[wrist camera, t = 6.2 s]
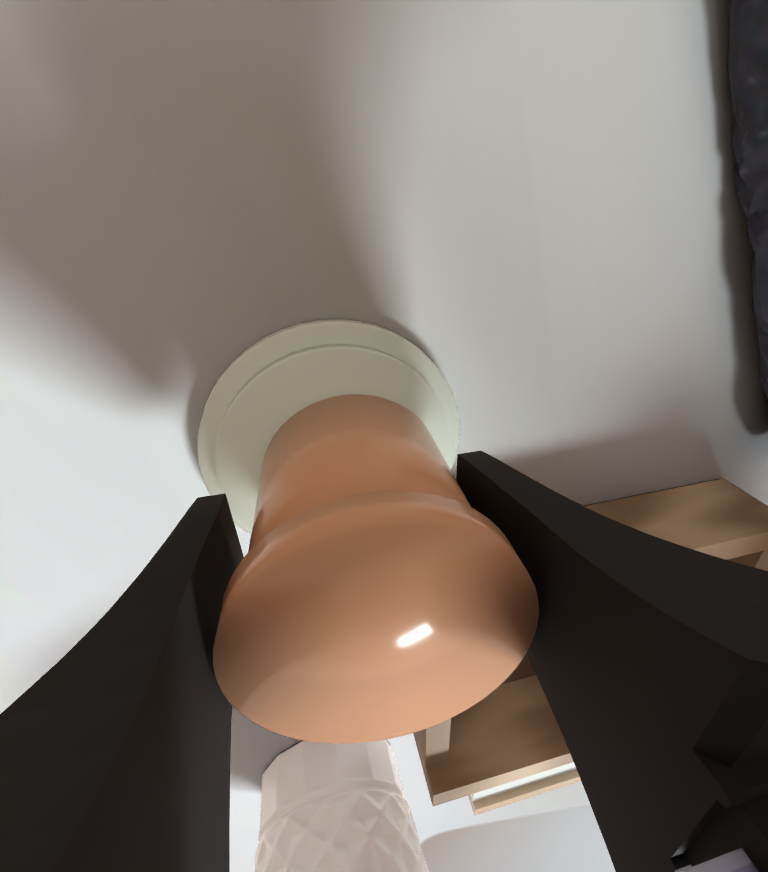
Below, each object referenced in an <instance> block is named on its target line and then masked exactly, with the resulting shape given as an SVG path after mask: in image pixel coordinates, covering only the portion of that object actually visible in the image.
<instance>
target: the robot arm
mask: <svg viewBox="0 0 768 872" xmlns="http://www.w3.org/2000/svg"><path fill="white" fill-rule="evenodd" d="M456 481H457V482H458V484H459V486H460V488H461V490H462V491H463V493H464V495H465V497H466V499H467V501H468V502H469V504H470V506H471V508H473V509H475V510H477V511H478V512H480V513H481V514H483V515H484V516H486V517H487V518H489V519H490V520H491V521H492V522H493V523H494V524H495V525H496V526H497V527H498V528H499V529H500V530H501V531H502V532H503V534H504V535H505V536H506V538H507V539H508V540H509V542H510V544H511V545H512V547H513V548H514V550H515V552H516V553H517V555H518V557H519V558H520V560H521V562H522V563H523V565H524V567H525V568H526V570H527V571H528V573H529V575H530V577H531V579H532V581H533V583H534V585H535V588H536V592H537V596H538V603H539V617H538V624H537V629H536V632H535V635H534V638H533V641H532V643H531V645H530V647H529V649H528V651H527V653H526V654H527V657H528V659H529V661H530V663H531V665H532V667H533V669H534V672H535V674H536V676H537V678H538V680H539V682H540V685H541V687H542V689H543V691H544V694H545V696H546V698H547V700H548V703H549V705H550V707H551V710H552V712H553V714H554V716H555V719H556V721H557V723H558V726H559V728H560V730H561V732H562V735H563V737H564V740H565V742H566V745H567V747H568V749H569V752H570V754H571V757H572V759H573V762H574V764H575V767H576V769H577V771H578V774H579V776H580V779H581V781H582V784H583V786H584V789H585V791H586V794H587V796H588V799H589V802H590V804H591V807H592V809H593V812H594V815H595V817H596V820H597V822H598V825H599V828H600V830H601V833H602V835H603V838H604V840H605V843H606V846H607V849H608V851H609V854H610V857H611V860H612V862H613V865H614V868H615V871H616V872H768V571H766V570H762V569H758V568H754V567H751V566H747V565H743V564H740V563H736V562H732V561H729V560H725V559H722V558H719V557H715V556H712V555H709V554H705V553H702V552H699V551H696V550H693V549H690V548H687V547H684V546H681V545H678V544H675V543H672V542H669V541H666V540H663V539H661V538H658V537H655V536H652V535H650V534H647V533H644V532H642V531H639V530H637V529H635V528H632V527H630V526H627V525H625V524H622V523H620V522H617V521H615V520H613V519H610V518H608V517H606V516H603V515H601V514H599V513H597V512H595V511H593V510H591V509H588V508H586V507H584V506H582V505H580V504H578V503H576V502H574V501H572V500H570V499H568V498H566V497H564V496H562V495H560V494H558V493H556V492H555V491H553V490H551V489H549V488H547V487H545V486H543V485H542V484H540V483H538V482H536V481H534V480H533V479H531V478H529V477H527V476H526V475H524V474H522V473H520V472H518V471H517V470H515V469H513V468H511V467H510V466H508V465H506V464H504V463H503V462H501V461H499V460H497V459H496V458H494V457H492V456H490V455H488V454H486V453H484V452H482V451H476V452H470V453H464V454H458V458H457V477H456ZM243 558H244V557H243V553H242V550H241V546H240V543H239V539H238V536H237V532H236V529H235V525H234V521H233V518H232V514H231V511H230V507H229V504H228V500H227V497H226V493H224V494H218V495H212V496H206V497H200V498H197V499H196V500H195V502H194V503H193V504H192V505H191V507H190V508H189V509H188V511H187V512H186V514H185V515H184V516H183V518H182V519H181V520H180V522H179V523H178V525H177V526H176V527H175V529H174V530H173V531H172V533H171V534H170V536H169V537H168V538H167V540H166V541H165V542H164V544H163V545H162V546H161V548H160V549H159V550H158V551H157V553H156V554H155V555H154V557H153V558H152V559H151V560H150V562H149V563H148V564H147V566H146V567H145V568H144V569H143V571H142V572H141V573H140V574H139V576H138V577H137V578H136V579H135V580H134V582H133V583H132V584H131V585H130V586H129V587H128V589H127V590H126V591H125V592H124V593H123V595H122V596H121V597H120V598H119V599H118V600H117V602H116V603H115V604H114V605H113V606H112V607H111V609H110V610H109V611H108V612H107V613H106V614H105V615H104V616H103V617H102V618H101V619H100V620H99V622H98V623H97V624H96V625H95V626H94V627H93V628H92V629H91V630H90V631H89V632H88V633H87V634H86V635H85V636H84V637H83V638H82V639H81V640H80V641H79V642H78V643H77V644H76V645H75V646H74V647H73V648H72V649H71V650H70V651H69V652H68V653H67V654H66V655H65V656H64V657H63V658H62V659H61V660H60V661H59V662H58V663H57V664H56V665H54V666H53V667H52V668H51V669H50V670H49V671H48V672H47V673H46V674H44V675H43V676H42V677H41V678H40V679H39V680H38V681H37V682H36V683H35V684H33V685H32V686H31V687H30V688H29V689H28V690H27V691H26V692H25V693H23V694H22V695H21V696H20V697H19V698H18V699H17V700H16V701H15V702H14V703H12V704H11V705H10V706H9V707H8V708H7V709H6V710H5V711H4V712H2V713H1V714H0V872H229V808H230V746H231V716H232V705H231V704H230V702H229V701H228V700H227V698H226V697H225V695H224V694H223V693H222V691H221V689H220V686H219V684H218V682H217V680H216V676H215V672H214V667H213V647H214V642H215V637H216V632H217V627H218V622H219V617H220V612H221V607H222V603H223V598H224V593H225V590H226V588H227V586H228V583H229V581H230V578H231V576H232V575H233V573H234V571H235V570H236V568H237V567H238V565H239V563H240V562H241V561H242V559H243Z"/></svg>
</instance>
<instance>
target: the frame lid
mask: <svg viewBox="0 0 768 872" xmlns="http://www.w3.org/2000/svg"><path fill="white" fill-rule="evenodd" d="M579 781H581V779H580V776H579V774H578V771H577V769H576V767H575V764H574V762H572V763H569V764H566V765H563V766H559V767H556V768H553V769H550V770H547V771H544V772H540V773H537V774H534V775H531V776H528V777H525V778H521V779H518V780H515V781H512V782H509V783H506V784H502V785H499V786H496V787H493V788H490V789H487V790H483V791H480V792H477V793H474V794H471V795H469V800H470V803H471V806H472V809H473V812H474V815H477V814H480V813H483V812H486V811H490V810H493V809H496V808H499V807H502V806H505V805H508V804H511V803H514V802H517V801H520V800H523V799H526V798H530V797H533V796H536V795H539V794H542V793H545V792H548V791H551V790H554V789H557V788H560V787H563V786H566V785H569V784H573V783H576V782H579Z"/></svg>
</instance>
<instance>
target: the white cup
mask: <svg viewBox="0 0 768 872" xmlns="http://www.w3.org/2000/svg"><path fill="white" fill-rule="evenodd" d="M255 872H429V871H428V867H427V864H426V861H425V858H424V855H423V852H422V849H421V846H420V843H419V837H418V833H417V829H416V826H415V822H414V819H413V816H412V813H411V810H410V807H409V805H408V803H407V802H406V800H405V794H404V789H403V785H402V782H401V778H400V774H399V770H398V766H397V762H396V758H395V754H394V751H393V749H392V747H391V746H390V745H389V743H388V742H387V740H379V741H373V742H364V743H351V744H331V743H318V742H310V741H302V742H300V743H298V744H297V745H295V746H292V747H291V748H290V749H288V750H286V751H285V752H283V753H281V754H280V755H278V756H277V757H276V758H275V760H274V761H273V762H272V763H271V764H270V766H269V767H268V768H267V769H266V770H265V772H264V773H263V775H262V790H261V814H260V830H259V844H258V847H257V850H256V853H255Z"/></svg>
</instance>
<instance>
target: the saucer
mask: <svg viewBox="0 0 768 872" xmlns="http://www.w3.org/2000/svg"><path fill="white" fill-rule="evenodd" d="M352 394H362V395H371V396H377V397H381V398H385V399H388V400H390V401H393V402H396V403H398V404H399V405H401V406H403V407H405V408H407V409H408V410H409V411H411V412H412V413H413V414H415V415H416V416H417V417H418V418H419V419H420V420H421V421H422V422H423V423H424V425H425V426H426V427H427V429H428V430H429V432H430V434H431V435H432V437H433V439H434V441H435V443H436V445H437V446H438V448H439V450H440V452H441V454H442V455H443V457H444V459H445V461H446V463H447V464H448V466H449V468H450V470H451V469H452V466H453V464H454V461H455V457H456V454H457V450H458V444H459V436H460V427H459V415H458V409H457V405H456V402H455V399H454V395H453V392H452V390H451V388H450V386H449V385H448V383H447V381H446V379H445V377H444V376H443V375H442V373H441V372H440V370H439V369H438V368H437V366H436V365H435V364H434V363H433V362H432V361H431V360H430V359H429V358H428V357H427V356H426V355H425V354H424V353H423V352H422V351H421V350H420V349H419V348H418V347H416V346H415V345H414V344H412V343H411V342H410V341H408V340H407V339H405V338H404V337H402V336H400V335H398V334H396V333H395V332H393V331H390V330H388V329H385V328H383V327H380V326H377V325H374V324H370V323H365V322H361V321H354V320H344V319H328V320H316V321H310V322H305V323H300V324H297V325H293V326H290V327H287V328H284V329H281V330H279V331H277V332H275V333H273V334H270V335H268V336H266V337H264V338H263V339H261V340H259V341H258V342H256V343H255V344H253V345H252V346H250V347H249V348H247V349H246V350H245V351H244V352H243V353H241V354H240V355H239V356H238V357H237V358H236V359H234V361H233V362H232V363H231V364H230V365H229V366H228V367H227V369H226V370H225V371H224V372H223V373H222V375H221V376H220V378H219V379H218V381H217V382H216V384H215V385H214V387H213V389H212V391H211V393H210V395H209V397H208V400H207V402H206V404H205V408H204V411H203V415H202V418H201V422H200V426H199V432H198V441H197V450H198V462H199V466H200V471H201V475H202V478H203V480H204V483H205V485H206V488H207V490H208V492H209V493H210V495H211V496H212V495H218V494H224V493H226V497H227V500H228V504H229V507H230V511H231V514H232V518H233V521H234V523H235V524H236V525H237V526H239V527H240V528H242V529H243V530H244V531H246V532H247V533H249V534H251V533H252V526H253V520H254V514H255V507H256V501H257V494H258V488H259V482H260V475H261V469H262V463H263V459H264V455H265V452H266V450H267V447H268V445H269V443H270V441H271V440H272V438H273V436H274V435H275V433H276V432H277V431H278V430H279V428H280V427H281V426H282V425H283V424H284V423H285V422H286V421H287V420H288V419H289V418H290V417H292V416H293V415H294V414H296V413H297V412H299V411H300V410H302V409H303V408H305V407H307V406H309V405H311V404H313V403H316V402H318V401H321V400H323V399H327V398H331V397H335V396H341V395H352Z"/></svg>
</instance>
